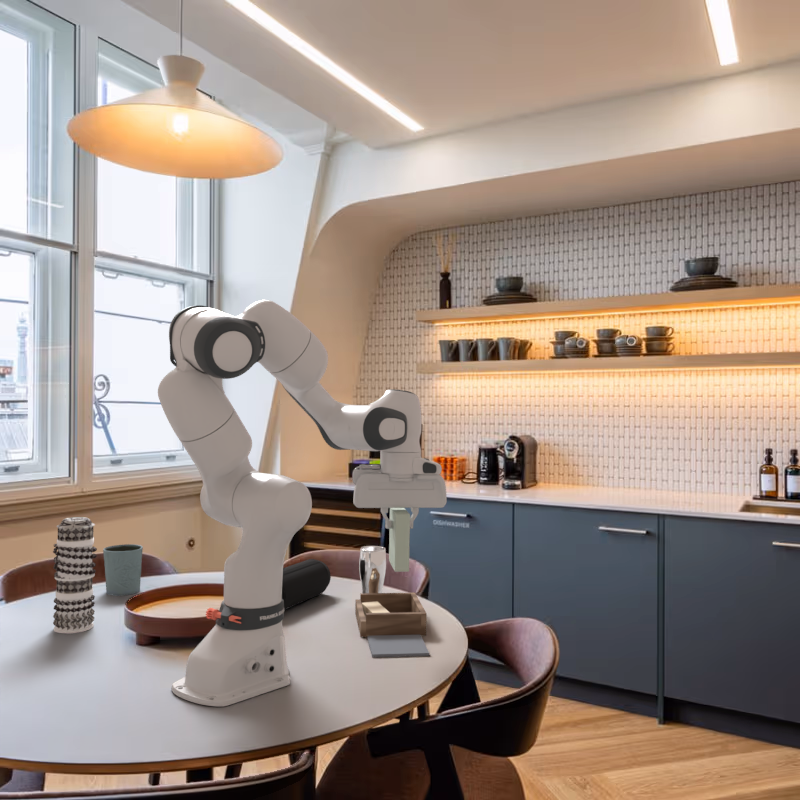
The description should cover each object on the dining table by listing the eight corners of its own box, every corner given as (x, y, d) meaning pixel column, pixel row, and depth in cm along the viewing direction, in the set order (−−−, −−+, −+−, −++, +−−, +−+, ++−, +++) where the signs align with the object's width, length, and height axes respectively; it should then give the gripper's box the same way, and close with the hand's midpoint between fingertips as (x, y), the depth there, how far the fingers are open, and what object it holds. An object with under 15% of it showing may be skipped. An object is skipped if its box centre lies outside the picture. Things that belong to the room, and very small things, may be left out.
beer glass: (384, 610, 183) (385, 551, 183) (357, 609, 183) (358, 550, 183) (385, 602, 190) (386, 545, 190) (359, 601, 190) (360, 545, 190)
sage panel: (409, 571, 150) (410, 514, 150) (394, 571, 150) (395, 514, 150) (402, 559, 161) (403, 506, 161) (388, 560, 161) (389, 506, 161)
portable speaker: (302, 591, 200) (303, 555, 200) (333, 595, 196) (334, 559, 196) (245, 614, 177) (246, 574, 177) (278, 620, 173) (279, 579, 173)
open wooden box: (426, 635, 163) (426, 613, 163) (360, 636, 161) (360, 614, 161) (414, 612, 181) (414, 592, 181) (355, 613, 179) (355, 593, 179)
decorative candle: (42, 632, 161) (44, 520, 161) (70, 620, 170) (72, 514, 170) (77, 635, 159) (79, 523, 159) (103, 623, 168) (106, 516, 168)
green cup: (139, 595, 192) (139, 550, 192) (98, 597, 190) (99, 551, 190) (144, 586, 202) (145, 543, 202) (106, 587, 200) (106, 544, 200)
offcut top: (391, 623, 166) (391, 614, 166) (375, 625, 165) (375, 615, 165) (377, 610, 176) (377, 601, 176) (361, 611, 175) (361, 602, 175)
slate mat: (429, 655, 150) (429, 652, 150) (372, 657, 149) (372, 654, 149) (420, 637, 162) (420, 634, 162) (367, 638, 161) (367, 635, 161)
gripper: (353, 465, 151) (352, 531, 151) (448, 466, 154) (447, 530, 154) (351, 463, 157) (350, 525, 157) (443, 463, 160) (442, 525, 160)
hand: (399, 528), depth 156 cm, fingers closed on sage panel, 3 cm apart
